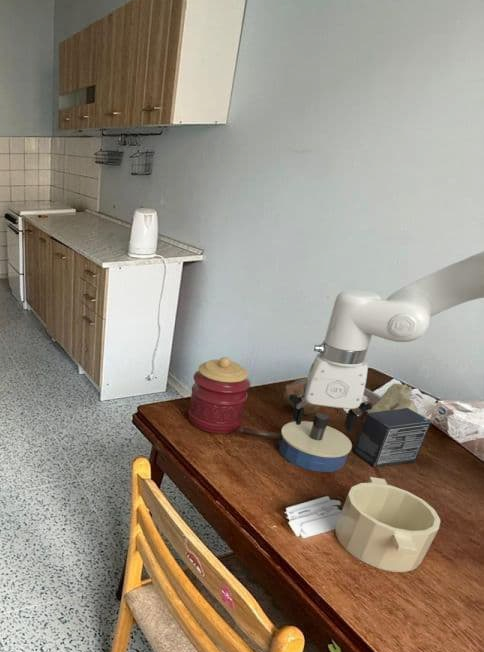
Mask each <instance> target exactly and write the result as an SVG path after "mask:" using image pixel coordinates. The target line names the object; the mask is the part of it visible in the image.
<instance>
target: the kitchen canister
mask: <svg viewBox="0 0 484 652" xmlns="http://www.w3.org/2000/svg"><path fill="white" fill-rule="evenodd" d="M197 369H198V370H197V371H196V372H194V374H193V381H194V383H193V385H192V386H191V394H190V395H191V396H190V402H189V406H188V409H187V416H188V417H187V419H188V420H189V422H190V424H192V425H193V426H194V427H195V428H197V429H199V430H201V431H203V432H207V433H210V434H211V433H212V434H220V435H221V434H222V435H224V434H230V433H234V432H236V431H237V430H239V428H241V425H242V422H243V418H244V417H243V416H244V410H245V406H246V401H247V400H248V396H249V395H248V393H247V390H249V388H250V386H251V381H250V379H249V378H248V377H249V372H248V370H247V369H246V368H244V367H243V366H242V365H241V364H240V363H238V362H236V361H232V360H231V359H230V358H229V357H227V356H222V357H221V358H218V359H217V358H216V359H210V360H208V361H206V362H202V363H201V364H200V365H199V366H198V368H197Z"/></svg>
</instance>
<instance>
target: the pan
mask: <svg viewBox="0 0 484 652" xmlns="http://www.w3.org/2000/svg"><path fill="white" fill-rule="evenodd" d="M277 445H278V446H277V449H278V452H279V454H280V455H281V457H283V458H284V459H285V460H286V461H288V462H290V463H291V464H292V465H295V466H297V467H299V468H302V469H304V470H309V471H312V472H317V473H333V472H338V471H339V470H341V469H343V468H344V467H345V465H346V462H347V460H348V457H349V455H350V452H349V453H348V454H347V455H345V456H342V457H334V458H329V457H320V456H315V455H311V454H308V453H305V452H302V451H300V450H298V449H296V448H294V447H292V446H291V445H289V444H288V443H287V442H286V441H285V440H284V439H283V437H282V439H281V440H278V443H277Z"/></svg>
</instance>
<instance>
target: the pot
mask: <svg viewBox="0 0 484 652" xmlns="http://www.w3.org/2000/svg"><path fill="white" fill-rule="evenodd" d="M441 521H442V520H441V518H440V517H439V515H438V513H437V511H436V510H435V509H434V507H432V506H431V505H430V504H429V503H428V502H426V501H425V500H424V499H422V498H420V497H419V496H417V495H416V494H414V493H412V492H410V491H408V490H405V489H402V488H399V487H397V486H394V485H391V484H388V482H387V481H386V479H385V478H380V477H374V476H369V478H368V482H360V483H358V484H355V485H353V486H351V488H350V489H349V491H348V494H347V496H346V499H345V501H344V504H343V507H342V508H341V511H340V514H339V517H338V519H337V522H336V525H335V530H334V531H335V537H336V539H337V541H338V543H339V544H340V545H341V546H342V547H343V548H344V550H345V551H346V552H347V553H349V554H350V555H352V556H353V557H355V558H356V559H357V560H359V561H361V562H363V563H364V564H367V565H368V566H371V567H373V568H376V569H378V570H379V569H380V570H383V571H385V572H386V571H387V572H393V573H407V572H411V571H414V570H416V569H417V568H418V567H419V566H420V565H421V564H422V563H423V560H424V558H425V556H426V554H427V552H428V550H429V548H430V547H431V544H432V543H433V541H434V539H435V538H436V535H437V534H438V532H439V530H440V526H441Z"/></svg>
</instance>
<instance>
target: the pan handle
mask: <svg viewBox="0 0 484 652" xmlns="http://www.w3.org/2000/svg"><path fill="white" fill-rule="evenodd" d="M237 430H238V433H239V434H240V435H244V436H250V437H256V438H263V439H270V440H276V441H279V440H281V439H282V435H281V432H276V431H275V432H274V431H268V430H262V429H255V428H249V427H243V426H240V427H239V428H238V429H237Z"/></svg>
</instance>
